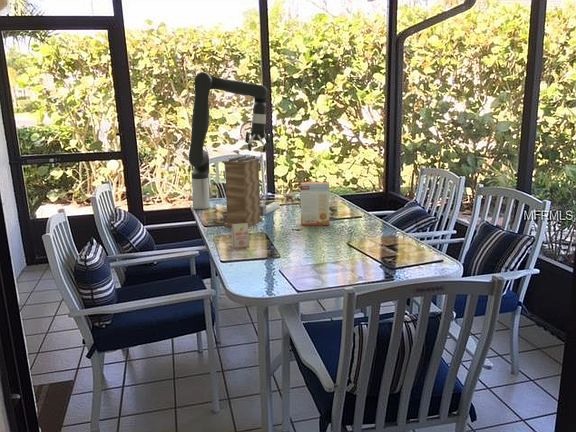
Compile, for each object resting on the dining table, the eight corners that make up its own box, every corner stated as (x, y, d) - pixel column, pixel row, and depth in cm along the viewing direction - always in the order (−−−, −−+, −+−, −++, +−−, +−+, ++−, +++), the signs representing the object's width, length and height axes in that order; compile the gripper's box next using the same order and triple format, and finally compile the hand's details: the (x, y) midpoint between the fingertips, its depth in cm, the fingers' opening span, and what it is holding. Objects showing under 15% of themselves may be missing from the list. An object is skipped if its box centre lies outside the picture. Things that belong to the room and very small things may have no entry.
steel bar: (263, 215, 267) (262, 206, 266) (257, 215, 268) (257, 206, 267) (279, 207, 286) (279, 198, 285) (273, 207, 288) (273, 198, 287)
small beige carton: (231, 246, 212) (231, 223, 210) (247, 244, 214) (246, 222, 212) (233, 248, 209) (232, 225, 207) (249, 247, 211) (248, 224, 208)
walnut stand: (246, 228, 240) (244, 159, 233) (224, 226, 245) (222, 158, 237) (262, 220, 256) (261, 155, 249) (241, 218, 261) (240, 155, 253)
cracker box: (329, 222, 250) (329, 181, 245) (329, 225, 244) (329, 183, 239) (301, 222, 252) (301, 181, 247) (300, 225, 246) (300, 183, 241)
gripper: (244, 121, 275) (242, 150, 279) (267, 123, 270) (265, 153, 274) (250, 121, 282) (248, 149, 286) (273, 123, 277) (271, 152, 281)
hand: (256, 151), depth 280 cm, fingers open, 8 cm apart
